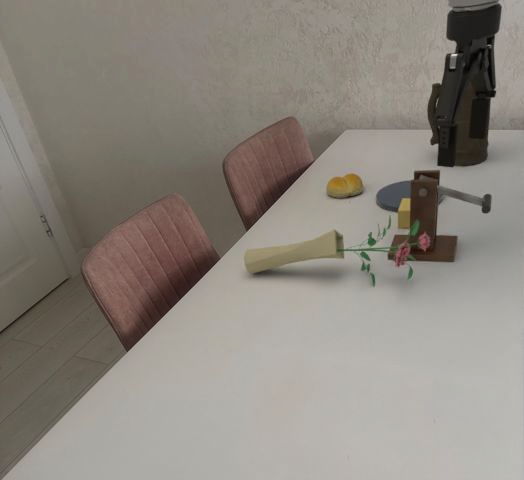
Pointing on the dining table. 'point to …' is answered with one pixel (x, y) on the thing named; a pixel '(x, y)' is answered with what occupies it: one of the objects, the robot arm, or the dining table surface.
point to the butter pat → (404, 213)
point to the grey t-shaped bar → (465, 196)
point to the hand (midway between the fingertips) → (462, 151)
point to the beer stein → (461, 129)
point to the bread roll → (345, 186)
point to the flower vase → (327, 251)
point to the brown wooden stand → (426, 221)
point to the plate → (395, 195)
